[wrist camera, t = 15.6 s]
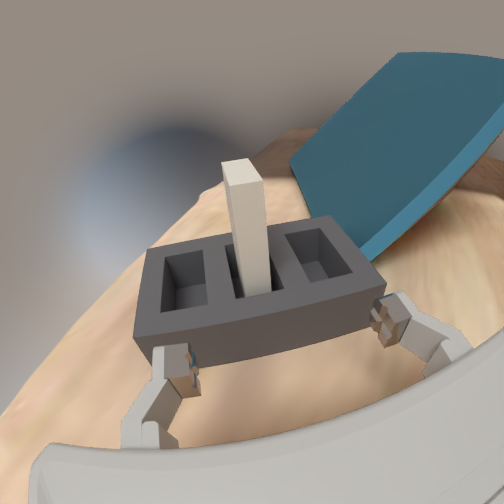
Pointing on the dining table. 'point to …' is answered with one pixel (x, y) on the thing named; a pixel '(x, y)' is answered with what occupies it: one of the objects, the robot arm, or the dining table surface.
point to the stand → (258, 306)
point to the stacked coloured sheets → (401, 144)
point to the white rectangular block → (248, 225)
